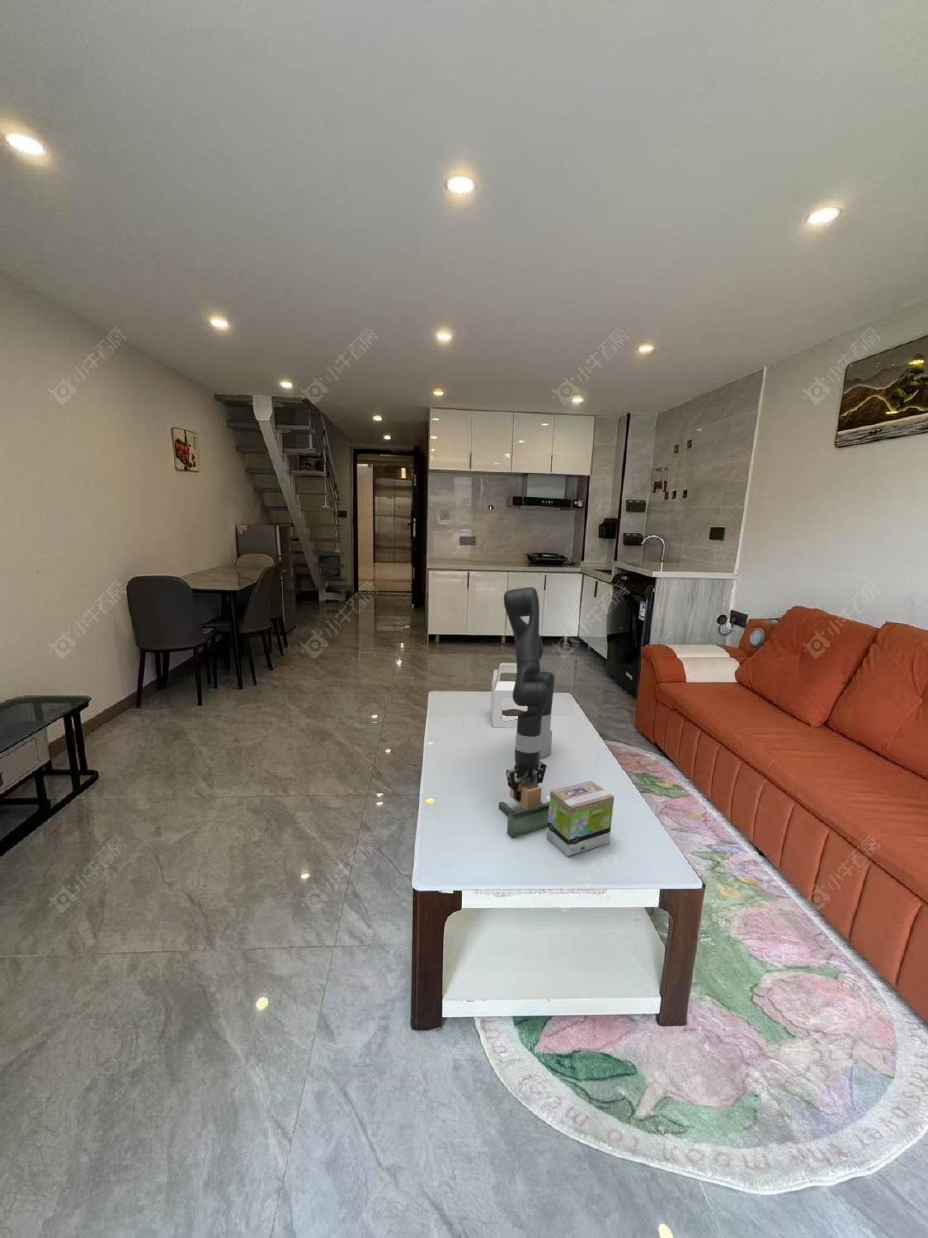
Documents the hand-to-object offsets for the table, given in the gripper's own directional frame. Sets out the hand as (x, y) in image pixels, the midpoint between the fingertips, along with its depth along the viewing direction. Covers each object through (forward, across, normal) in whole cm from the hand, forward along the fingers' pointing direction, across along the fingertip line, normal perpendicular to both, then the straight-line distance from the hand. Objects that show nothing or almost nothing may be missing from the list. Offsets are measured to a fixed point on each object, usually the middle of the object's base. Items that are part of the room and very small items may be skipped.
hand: (524, 798), depth 153 cm
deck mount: (+5, 0, +2) cm, 5 cm away
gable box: (+5, -40, -62) cm, 74 cm away
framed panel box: (+1, 0, 0) cm, 1 cm away
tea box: (+5, -5, +18) cm, 20 cm away
